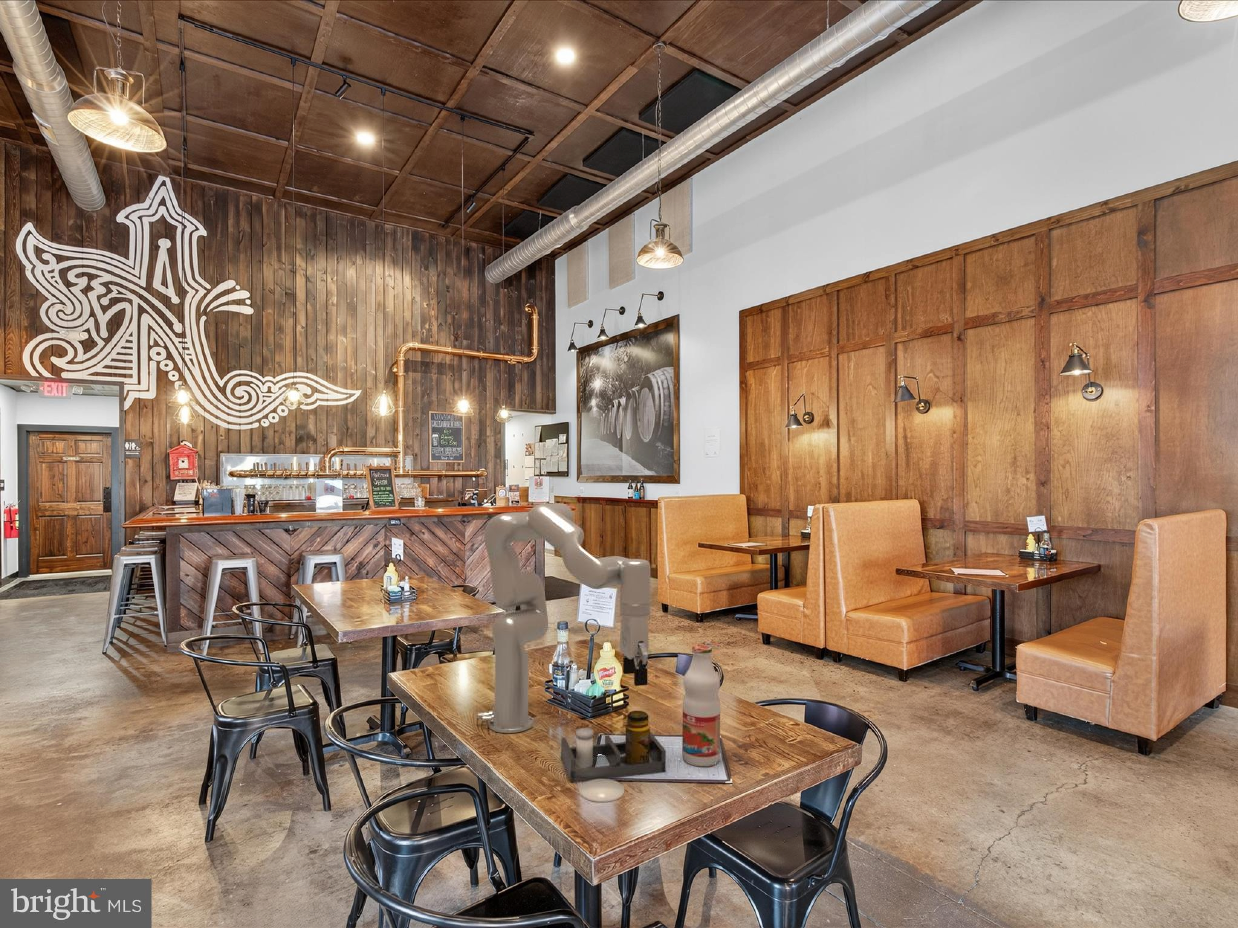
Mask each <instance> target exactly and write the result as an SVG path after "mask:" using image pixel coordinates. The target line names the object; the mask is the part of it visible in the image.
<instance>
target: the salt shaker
mask: <svg viewBox="0 0 1238 928" xmlns="http://www.w3.org/2000/svg"><path fill="white" fill-rule="evenodd" d="M575 733H576V734H575V735H576V736H575V737H576V747H577V748H576V759H575V766H576V767H578V768H579V769H581V768H590V767H593V762H594V760H593V758H594V757H593V745H594V729H592V728H589V727H581V728H578V729H577V730H576V731H575Z"/></svg>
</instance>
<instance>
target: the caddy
mask: <svg viewBox="0 0 1238 928" xmlns="http://www.w3.org/2000/svg"><path fill="white" fill-rule="evenodd" d="M560 742H561V743H560V745H561V746H560V749H561V750H560V759H561V762H562V764H563V767H564V769H565V771H566V775H567V777H568V779H569V781H570V783H571V784H572V783H579V782H587V781H590V780H594V779H615V778H616V779H617V778H622V777H623V778H625V777H633V776H640V775H641V776H642V775H650V774H658V773H660V774H661V773H666V771H667V770H666V768H667V767H666V761H667V759H666V758H667V755H666V751H667V750H666V749H665V748H664V747H663V746H662V744H661V743H660V742H659V740H658V739H657V738H656V737H655V736H654V734H653V732H651V731H650V761H646V762H636V763H627V764H620V757H621V755H625V754H624V753H625V741H623V742H622V741H621V742H614V741H613V740H612V737H611V736H610V735H604V743H602V744H593V758H594V757H595V756H597V755H598V754H602V755H605V756H606V757H605V756H604V757H605V759H606V760H607V762H608V763H609V765H601V766H591V767H589V768H576V748H577V746H572V747H571V746H569V743H568V740H567V739H566V737H561V740H560ZM597 757H598V756H597ZM595 758H596V757H595Z"/></svg>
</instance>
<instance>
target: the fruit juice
mask: <svg viewBox="0 0 1238 928" xmlns="http://www.w3.org/2000/svg"><path fill="white" fill-rule="evenodd" d="M691 651H692V654H693V655H692V658H691V659H692V660H691V663H690V665H689V667H688V669H687V671H686V672H685V674H684V677H683V688H684V696H683V699H682V731H681V732H682V733H681V734H682V735H681V736H682V737H681V739H682V740H681V742H682V743H681V744H682V745H681V746H682V751H681V752H682V754H681V755H682V759H683V760H684V761H685V762H686V763H687V764H689V765H692V766H694V767H702V766H706V767H712V766H715V765H716V764H715V763H717V762H718V761H719V762H720V759H721V701H720V697H719V691H720V688H721V682H720V681H721V679H720V677H719V675H718V673H717V672H716V671H715V668H714V665H713V661H712V658H711V655H712V652H713V650H712V646H711V645H708V644H693V646H692V649H691ZM719 762H718V763H719ZM718 763H717V764H718ZM714 764H715V765H714ZM711 765H712V766H711Z"/></svg>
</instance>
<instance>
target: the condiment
mask: <svg viewBox="0 0 1238 928" xmlns="http://www.w3.org/2000/svg"><path fill="white" fill-rule="evenodd" d="M626 716H627V720H626V722H627V723H626V724H625V735H624V736H625V741H624V742H625V754H624V755H623V756H622V755H620V764H627V763H636V762H646V761H651V757H650V732H651V726H650V724H649V722H650V721H649V718H650V717H649V714H648V713H647V712H646V711H643V710H632V711H630V712H628V713H627V715H626Z"/></svg>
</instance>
